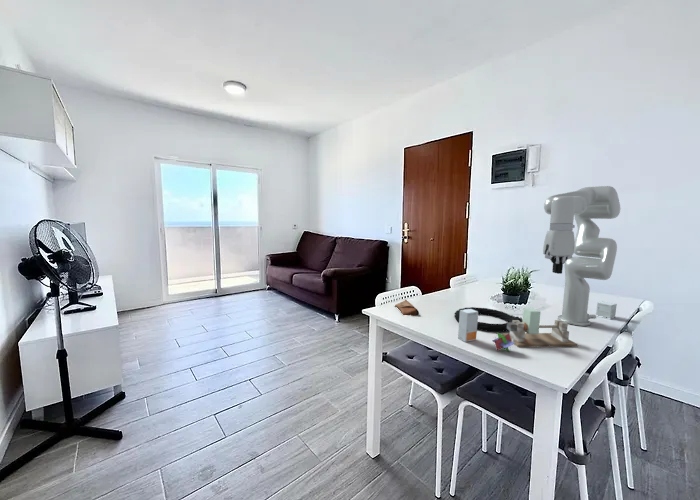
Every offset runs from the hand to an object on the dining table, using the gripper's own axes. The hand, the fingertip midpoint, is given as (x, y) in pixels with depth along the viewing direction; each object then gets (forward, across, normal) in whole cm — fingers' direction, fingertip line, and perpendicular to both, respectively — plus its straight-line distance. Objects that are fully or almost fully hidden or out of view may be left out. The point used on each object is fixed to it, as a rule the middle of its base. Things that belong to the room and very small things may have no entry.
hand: (557, 272), depth 120 cm
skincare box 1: (+27, +37, +1) cm, 46 cm away
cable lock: (+28, +18, -19) cm, 38 cm away
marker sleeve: (+23, +12, +3) cm, 26 cm away
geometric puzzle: (+27, +28, +11) cm, 40 cm away
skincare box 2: (+29, -48, -25) cm, 62 cm away
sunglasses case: (+28, +53, -37) cm, 70 cm away
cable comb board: (+27, +8, +4) cm, 29 cm away
